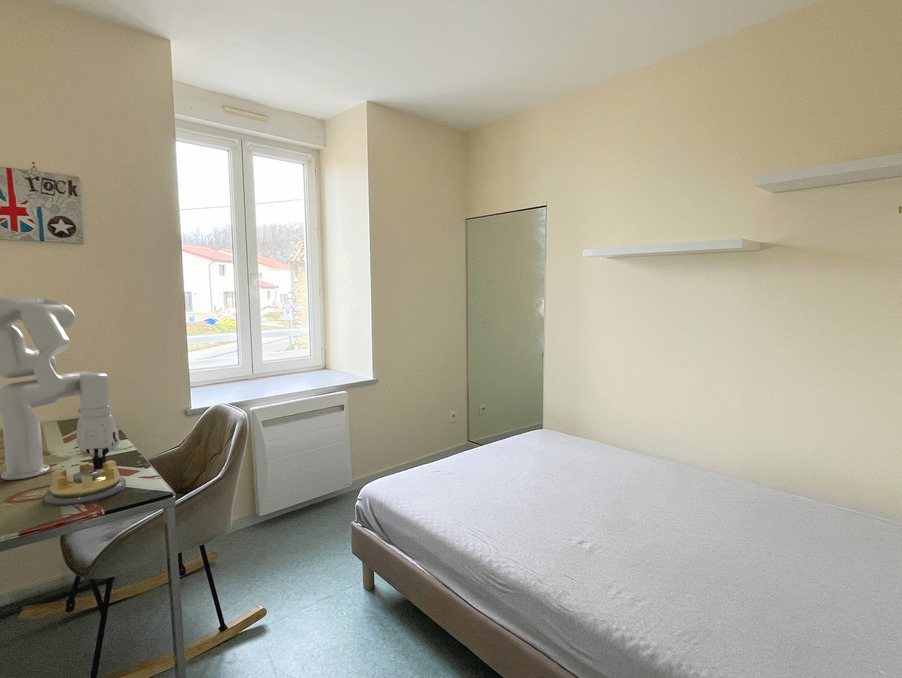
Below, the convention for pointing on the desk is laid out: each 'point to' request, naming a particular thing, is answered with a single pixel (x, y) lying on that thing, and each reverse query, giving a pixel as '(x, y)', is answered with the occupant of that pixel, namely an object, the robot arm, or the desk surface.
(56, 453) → the desk surface
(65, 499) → the base plate
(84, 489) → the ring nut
